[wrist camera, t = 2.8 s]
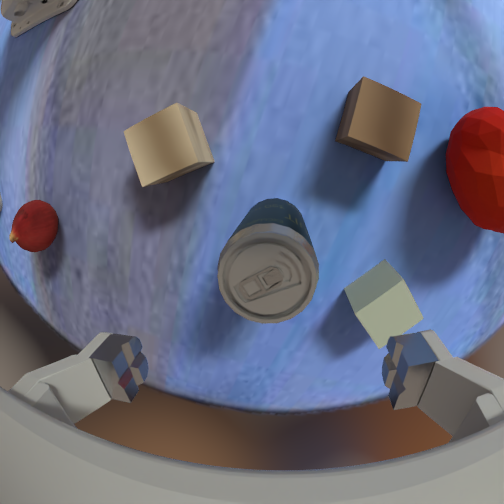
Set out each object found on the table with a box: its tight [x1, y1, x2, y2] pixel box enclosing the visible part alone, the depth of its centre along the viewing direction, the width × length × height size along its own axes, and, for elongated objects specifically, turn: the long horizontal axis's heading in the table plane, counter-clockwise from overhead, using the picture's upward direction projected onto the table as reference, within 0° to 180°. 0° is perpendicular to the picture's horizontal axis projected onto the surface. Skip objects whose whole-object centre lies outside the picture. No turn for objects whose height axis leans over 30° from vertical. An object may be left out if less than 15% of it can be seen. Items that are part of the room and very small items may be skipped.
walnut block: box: [335, 77, 421, 162], centre depth 19 cm, size 5×5×5 cm
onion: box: [10, 200, 58, 252], centre depth 24 cm, size 6×6×8 cm
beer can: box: [218, 198, 319, 323], centre depth 19 cm, size 5×5×12 cm
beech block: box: [124, 103, 214, 187], centre depth 21 cm, size 5×5×5 cm
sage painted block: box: [344, 259, 423, 349], centre depth 24 cm, size 5×5×5 cm
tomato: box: [446, 107, 504, 233], centre depth 16 cm, size 12×12×10 cm
